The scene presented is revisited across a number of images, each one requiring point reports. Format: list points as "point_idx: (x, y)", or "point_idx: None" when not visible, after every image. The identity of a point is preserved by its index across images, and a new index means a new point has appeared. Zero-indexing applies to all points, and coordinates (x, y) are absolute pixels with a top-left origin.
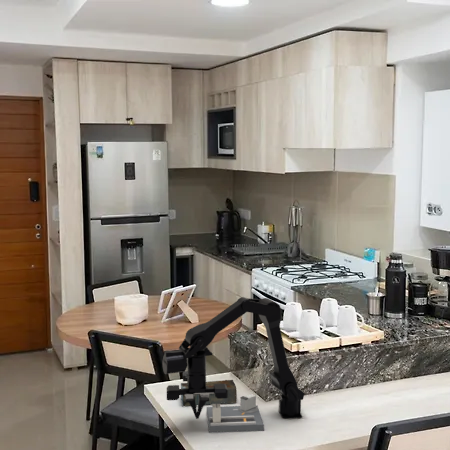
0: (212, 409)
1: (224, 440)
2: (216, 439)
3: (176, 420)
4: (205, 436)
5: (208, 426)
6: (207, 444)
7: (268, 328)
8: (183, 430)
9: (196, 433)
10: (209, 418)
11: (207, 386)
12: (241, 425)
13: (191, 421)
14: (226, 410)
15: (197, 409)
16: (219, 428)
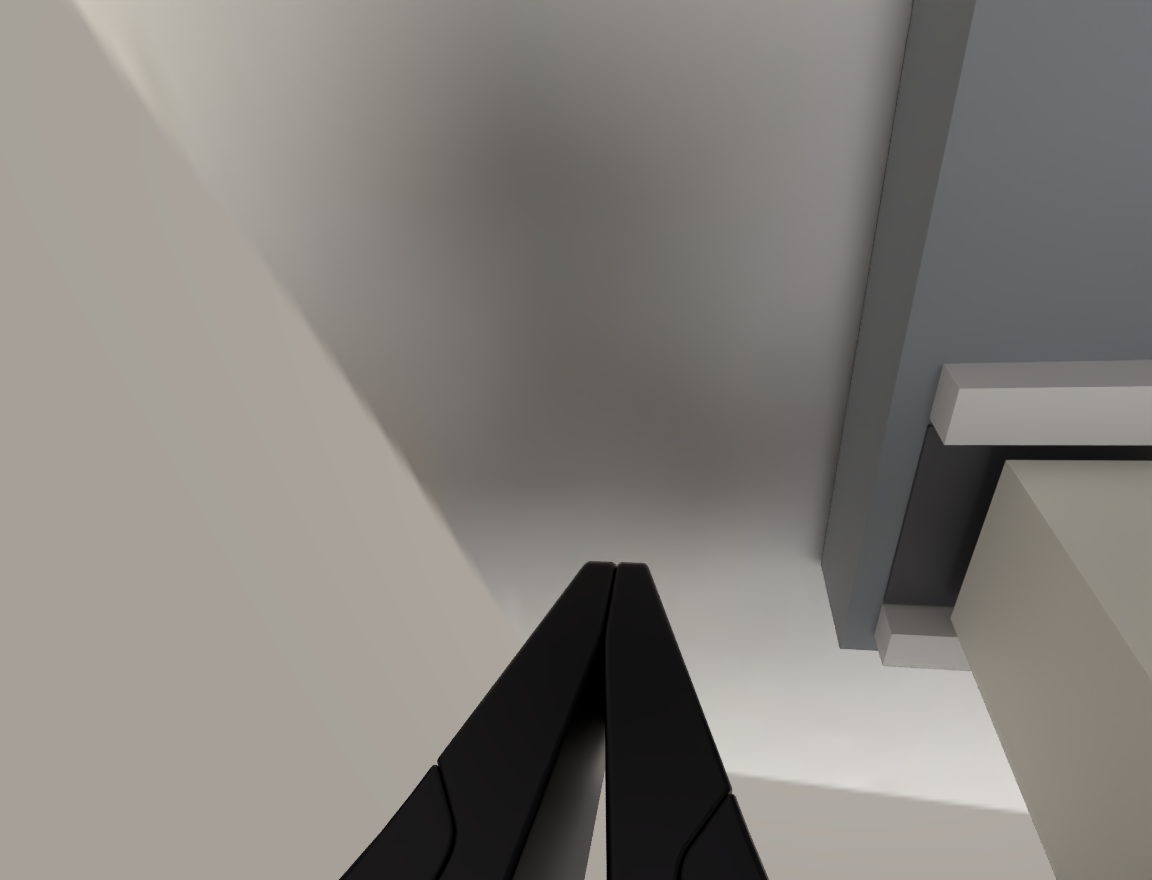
0: (1131, 741)
1: (983, 734)
2: (884, 706)
3: (151, 32)
4: (750, 636)
5: (849, 441)
6: (751, 763)
7: None
8: (424, 466)
9: (626, 559)
10: (945, 340)
11: None
12: None
13: (496, 94)
14: None
15: (605, 717)
16: None
